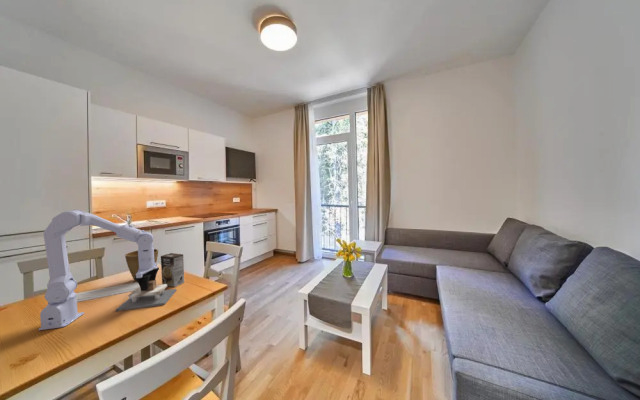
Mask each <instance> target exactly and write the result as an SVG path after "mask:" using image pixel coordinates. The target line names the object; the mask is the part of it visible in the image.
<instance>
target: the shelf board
mask: <svg viewBox="0 0 640 400" xmlns="http://www.w3.org/2000/svg"><path fill="white" fill-rule="evenodd" d="M167 287H168V286H167V284H163V285H162V284H157V280H156V279H155V280H152V281H149V283H148V290H144V291H142V290H141V288H140V287H138V288H137V289H135V290H134V291H132V292H131V293H130V292H129V294H128V295H127V297H128V299H129V298H131V297H139V296H147V295H156V294H160V293H161V292H162V291H163V290H166V288H167Z"/></svg>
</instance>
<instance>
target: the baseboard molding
mask: <svg viewBox="0 0 640 400" xmlns="http://www.w3.org/2000/svg"><path fill="white" fill-rule="evenodd" d="M138 287H140V286H139V284H138V282H136V281H134V282H130V283H125V284H120V285H115V286H114V285H113V286H108V287H103V288H97V289H92V290H87V291H81V292H75V293H76V298H77V303H80V302H81V303H82V302H85V301H90V300H96V299H102V298H105V297H110V296H117V295H121V294H126V293H130V292H131V293H132V292H133V291H134V290H135V289H137V288H138Z"/></svg>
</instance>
